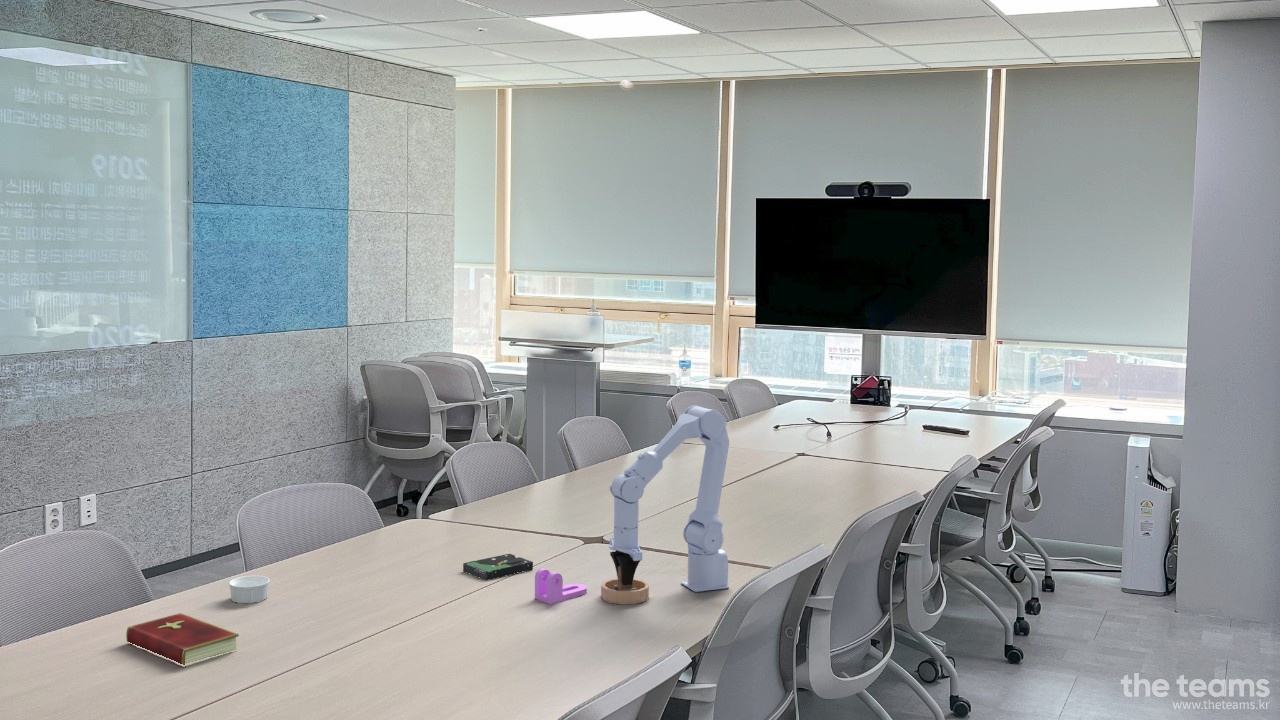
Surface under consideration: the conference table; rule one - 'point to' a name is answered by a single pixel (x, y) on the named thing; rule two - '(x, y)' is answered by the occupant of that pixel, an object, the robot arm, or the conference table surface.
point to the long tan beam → (620, 584)
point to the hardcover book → (182, 638)
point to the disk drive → (497, 566)
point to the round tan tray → (624, 592)
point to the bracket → (555, 587)
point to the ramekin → (249, 589)
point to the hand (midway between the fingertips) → (625, 583)
